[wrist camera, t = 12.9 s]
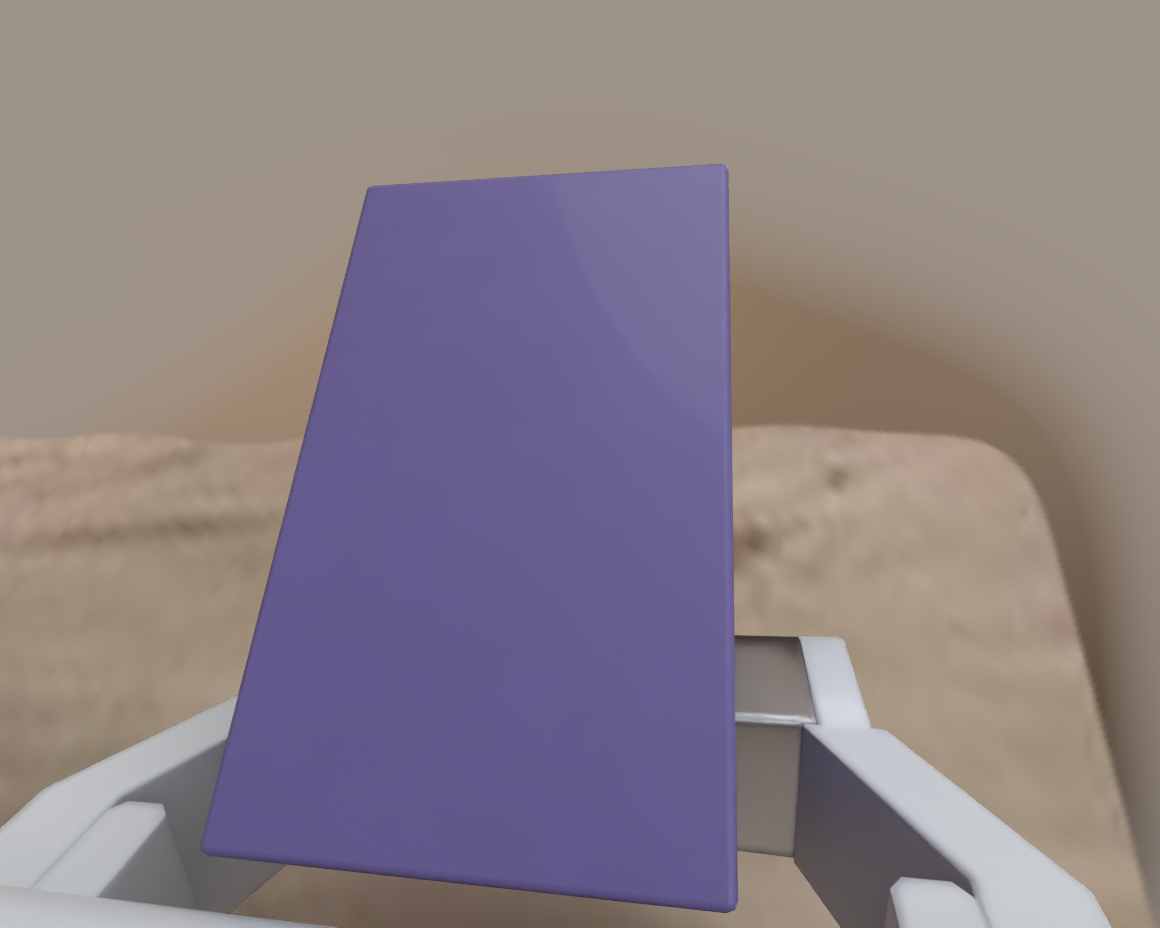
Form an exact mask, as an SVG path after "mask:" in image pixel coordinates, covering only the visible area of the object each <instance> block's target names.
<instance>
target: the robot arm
mask: <svg viewBox="0 0 1160 928" xmlns="http://www.w3.org/2000/svg"><path fill="white" fill-rule="evenodd" d="M734 649H735V726H736V803H737V851H745V852H753V853H761V854H769V855H777V856H785V857H793V858H794V862H795V864H796V865H797V867H798V868H799V869H800V871H801V872H802V874H803V875H804V876H805V878H806V879H807V881H808V882H809V883H810V885H811V886H812V888H813V889H814V890H815V892H816V893H817V895H818V896H819V898H820V899H821V900H822V902H823V903H824V905H825V906H826V907H827V909H828V910H829V912H830V913H831V914H832V916H833V917H834V919H835V920H836V921H837V923H838V924H839V926H840V927H841V928H1112V927H1111V926H1110V924H1109V922H1108V920H1107V918H1106V917H1105V915H1104V913H1103V911H1102V909H1101V908H1100V906H1099V904H1098V902H1097V900H1096V899H1095V897H1094V895H1093V893H1092V892H1091V891H1090V890H1088V889H1087V888H1086V887H1084V886H1083V885H1082V884H1081V883H1079V882H1078V881H1077V880H1076V879H1074V878H1073V877H1072V876H1071V875H1069V874H1068V873H1067V872H1065V871H1064V870H1063V869H1062V868H1060V867H1059V866H1058V865H1057V864H1055V863H1054V862H1053V861H1052V860H1050V859H1049V858H1048V857H1046V856H1045V855H1044V854H1043V853H1041V852H1040V851H1039V850H1038V849H1036V848H1035V847H1034V846H1032V845H1031V844H1030V843H1029V842H1027V841H1026V840H1025V839H1024V838H1022V837H1021V836H1020V835H1019V834H1017V833H1016V832H1015V831H1013V830H1012V829H1011V828H1010V827H1008V826H1007V825H1006V824H1005V823H1003V822H1002V821H1001V820H1000V819H998V818H997V817H996V816H994V815H993V814H992V813H991V812H989V811H988V810H987V809H986V808H984V807H983V806H982V805H981V804H979V803H978V802H977V801H975V800H974V799H973V798H972V797H970V796H969V795H968V794H967V793H965V792H964V791H963V790H962V789H960V788H959V787H958V786H956V785H955V784H954V783H953V782H951V781H950V780H949V779H948V778H946V777H945V776H944V775H943V774H941V773H940V772H939V771H937V770H936V769H935V768H934V767H932V766H931V765H930V764H929V763H927V762H926V761H925V760H924V759H922V758H921V757H920V756H918V755H917V754H916V753H915V752H913V751H912V750H911V749H910V748H908V747H907V746H906V745H905V744H903V743H902V742H901V741H899V740H898V739H897V738H896V737H894V736H893V735H892V734H891V733H889V732H888V731H887V730H882V729H872V726H871V723H870V720H869V717H868V714H867V711H866V707H865V704H864V701H863V698H862V695H861V692H860V689H859V686H858V683H857V679H856V676H855V673H854V670H853V667H852V664H851V661H850V658H849V654H848V651H847V648H846V645H845V642H844V640H842V639H841V638H840V637H818V636H798V637H781V636H746V635H734ZM237 698H238V695H236V696H234V697H232V698H230V699H228V700H226V701H224V702H222V703H220V704H217V705H215V706H213V707H211V708H209V709H207V710H205V711H203V712H201V713H199V714H197V715H195V716H193V717H191V718H189V719H186V720H184V721H182V722H180V723H178V724H176V725H174V726H172V727H170V728H168V729H166V730H164V731H162V732H160V733H157V734H155V735H153V736H151V737H149V738H147V739H145V740H143V741H141V742H139V743H137V744H135V745H133V746H131V747H129V748H126V749H124V750H122V751H120V752H118V753H116V754H114V755H112V756H110V757H108V758H106V759H104V760H102V761H100V762H97V763H95V764H93V765H91V766H89V767H87V768H85V769H83V770H81V771H79V772H77V773H75V774H73V775H71V776H69V777H66V778H64V779H62V780H60V781H58V782H56V783H54V784H52V785H50V786H48V787H46V788H44V789H42V790H41V791H40V792H39V793H38V794H37V795H36V796H35V797H34V798H32V799H31V800H30V801H29V802H28V803H27V804H26V805H25V806H24V807H23V808H21V809H20V810H19V811H18V812H17V813H16V814H15V815H14V816H13V817H12V818H10V819H9V820H8V821H7V822H6V823H5V824H4V825H3V826H2V827H1V828H0V928H339V927H331V926H323V925H315V924H307V923H299V922H291V921H283V920H275V919H267V918H259V917H251V916H243V915H235V914H228V913H229V912H231V911H232V910H233V909H234V908H235V907H237V906H238V905H239V904H240V903H241V902H243V901H244V900H245V899H246V898H247V897H249V896H250V895H251V894H252V893H253V892H255V891H256V890H257V889H258V888H259V887H261V886H262V885H263V884H264V883H265V882H267V881H268V880H269V879H270V878H271V877H273V876H274V875H275V874H276V873H277V872H279V871H280V870H281V869H282V868H283V867H285V866H286V865H287V864H279V863H270V862H261V861H252V860H243V859H234V858H225V857H216V856H208V855H207V854H205V853H203V852H202V851H201V849H200V843H201V839H202V835H203V831H204V827H205V823H206V819H207V815H208V812H209V808H210V804H211V800H212V796H213V792H214V788H215V784H216V780H217V776H218V772H219V768H220V765H221V761H222V757H223V753H224V749H225V745H226V741H227V737H228V733H229V729H230V725H231V721H232V717H233V714H234V710H235V706H236V702H237Z"/></svg>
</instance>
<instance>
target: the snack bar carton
mask: <svg viewBox="0 0 1160 928" xmlns="http://www.w3.org/2000/svg"><path fill="white" fill-rule="evenodd" d="M728 191H729V188H728V170H727V168H726V166H725V165H723V164H710V165H695V166H680V167H663V168H647V169H632V170H616V171H601V172H584V173H569V174H553V175H537V176H523V177H506V178H490V179H474V180H459V181H443V182H427V183H412V184H396V185H380V186H371V187H369V188H368V189H367V193H366V196H365V200H364V204H363V208H362V212H361V216H360V220H359V223H358V228H357V232H356V235H355V239H354V243H353V247H352V251H351V255H350V259H349V263H348V267H347V271H346V274H345V278H344V282H343V286H342V290H341V294H340V298H339V302H338V306H337V310H336V314H335V318H334V321H333V326H332V329H331V333H330V337H329V341H328V345H327V349H326V353H325V357H324V361H323V365H322V369H321V372H320V376H319V380H318V384H317V389H316V392H315V396H314V400H313V404H312V408H311V412H310V416H309V420H308V424H307V427H306V431H305V435H304V439H303V443H302V447H301V451H300V455H299V459H298V463H297V467H296V470H295V474H294V478H293V482H292V486H291V490H290V494H289V498H288V502H287V506H286V510H285V514H284V518H283V521H282V525H281V529H280V533H279V537H278V541H277V545H276V549H275V553H274V557H273V561H272V565H271V568H270V572H269V576H268V580H267V584H266V588H265V592H264V596H263V600H262V604H261V608H260V612H259V616H258V619H257V623H256V627H255V631H254V635H253V639H252V643H251V647H250V651H249V655H248V659H247V663H246V666H245V670H244V674H243V678H242V682H241V686H240V690H239V694H238V698H237V702H236V706H235V710H234V714H233V717H232V721H231V725H230V729H229V733H228V737H227V741H226V745H225V749H224V753H223V757H222V761H221V765H220V768H219V772H218V776H217V780H216V784H215V788H214V792H213V796H212V800H211V804H210V808H209V812H208V815H207V819H206V823H205V827H204V831H203V835H202V839H201V843H200V849H201V851H202V852H203V853H205V854H207V855H208V856H216V857H225V858H234V859H243V860H252V861H261V862H270V863H279V864H288V865H297V866H306V867H315V868H324V869H334V870H343V871H352V872H361V873H370V874H379V875H388V876H397V877H406V878H415V879H424V880H433V881H442V882H451V883H460V884H469V885H478V886H487V887H496V888H505V889H514V890H523V891H532V892H541V893H550V894H559V895H568V896H577V897H586V898H595V899H604V900H613V901H622V902H631V903H640V904H649V905H658V906H667V907H676V908H685V909H694V910H703V911H712V912H721V913H728V912H730V911H733V910H735V907H736V904H737V902H738V880H737V803H736V726H735V649H734V573H733V496H732V424H731V423H732V420H731V352H730V351H731V348H730V346H731V345H730V344H731V343H730V270H729V269H730V265H729V195H728V194H729V192H728Z"/></svg>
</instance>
